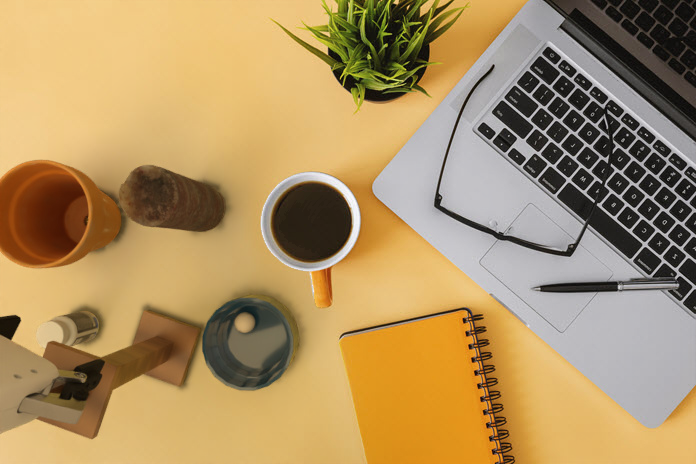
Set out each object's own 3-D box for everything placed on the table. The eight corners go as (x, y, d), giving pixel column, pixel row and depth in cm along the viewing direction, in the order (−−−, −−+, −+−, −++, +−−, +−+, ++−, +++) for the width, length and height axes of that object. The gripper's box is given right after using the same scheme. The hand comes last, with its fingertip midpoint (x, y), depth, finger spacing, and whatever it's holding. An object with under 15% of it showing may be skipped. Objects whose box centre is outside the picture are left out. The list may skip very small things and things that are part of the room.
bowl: (283, 392, 73) (276, 403, 68) (203, 364, 74) (189, 373, 68) (310, 310, 73) (305, 314, 68) (230, 283, 74) (219, 285, 69)
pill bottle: (73, 308, 75) (35, 315, 67) (102, 313, 75) (68, 320, 66) (68, 339, 75) (30, 350, 67) (97, 343, 75) (62, 355, 66)
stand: (182, 384, 74) (94, 446, 50) (128, 365, 74) (16, 417, 51) (201, 328, 74) (122, 363, 51) (147, 309, 75) (44, 335, 51)
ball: (253, 333, 73) (248, 337, 70) (235, 327, 73) (229, 330, 70) (259, 314, 73) (255, 317, 70) (241, 308, 73) (235, 310, 70)
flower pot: (124, 163, 76) (73, 145, 63) (150, 249, 75) (104, 249, 62) (40, 191, 76) (-27, 178, 63) (65, 277, 75) (1, 282, 62)
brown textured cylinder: (237, 216, 75) (188, 202, 55) (198, 243, 75) (135, 239, 55) (210, 175, 75) (152, 147, 55) (172, 202, 75) (99, 184, 55)
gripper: (-260, 392, 31) (-37, 347, 48) (-37, 518, 30) (112, 426, 47) (-205, 287, 32) (-2, 279, 49) (18, 407, 30) (146, 356, 47)
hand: (54, 351), depth 48 cm, fingers open, 9 cm apart
